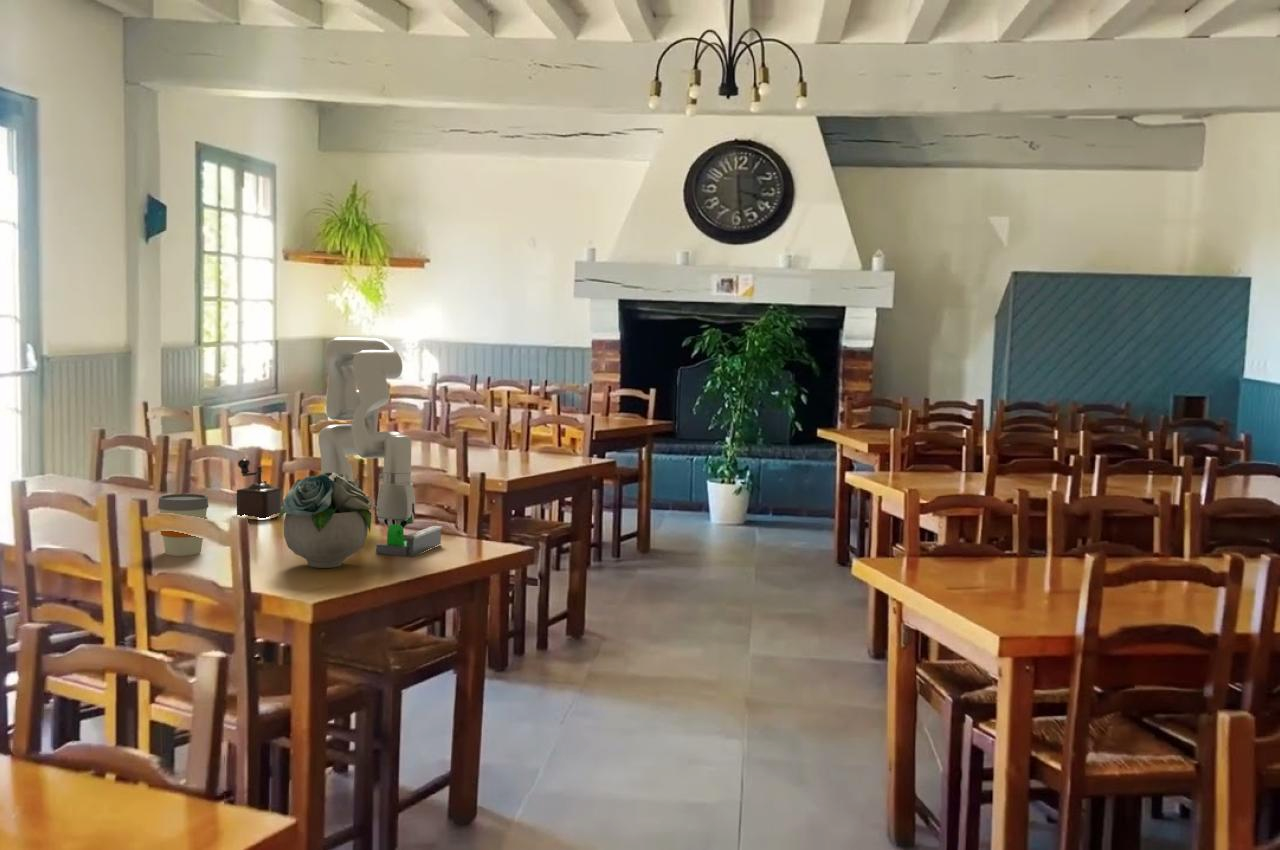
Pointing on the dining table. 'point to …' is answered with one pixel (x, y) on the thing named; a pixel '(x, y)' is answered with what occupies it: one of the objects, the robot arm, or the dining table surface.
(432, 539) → the steel bracket
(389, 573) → the dining table surface
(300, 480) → the flower arrangement
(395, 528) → the mechanical part
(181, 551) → the reusable coffee cup
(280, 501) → the manual coffee grinder
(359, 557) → the dining table surface
